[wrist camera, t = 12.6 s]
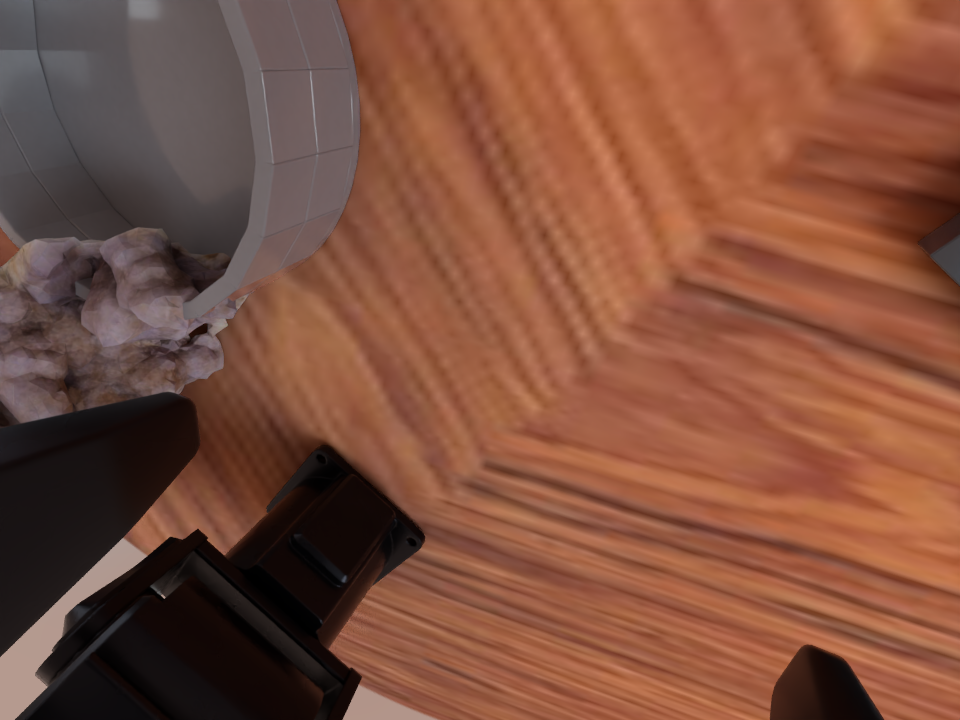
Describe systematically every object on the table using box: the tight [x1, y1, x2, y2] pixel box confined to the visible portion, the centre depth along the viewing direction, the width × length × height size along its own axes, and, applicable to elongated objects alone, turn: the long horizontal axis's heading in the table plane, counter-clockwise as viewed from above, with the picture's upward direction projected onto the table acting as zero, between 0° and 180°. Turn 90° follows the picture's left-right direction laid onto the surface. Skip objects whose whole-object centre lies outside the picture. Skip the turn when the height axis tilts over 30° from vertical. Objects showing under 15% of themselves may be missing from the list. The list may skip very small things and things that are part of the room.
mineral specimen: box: [0, 227, 254, 428], centre depth 25 cm, size 20×10×10 cm
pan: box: [0, 0, 360, 320], centre depth 19 cm, size 14×14×4 cm
